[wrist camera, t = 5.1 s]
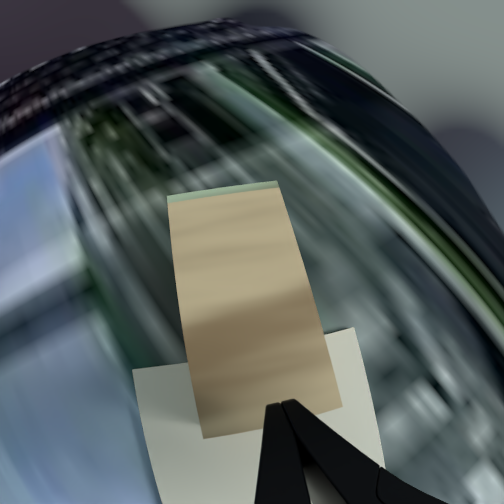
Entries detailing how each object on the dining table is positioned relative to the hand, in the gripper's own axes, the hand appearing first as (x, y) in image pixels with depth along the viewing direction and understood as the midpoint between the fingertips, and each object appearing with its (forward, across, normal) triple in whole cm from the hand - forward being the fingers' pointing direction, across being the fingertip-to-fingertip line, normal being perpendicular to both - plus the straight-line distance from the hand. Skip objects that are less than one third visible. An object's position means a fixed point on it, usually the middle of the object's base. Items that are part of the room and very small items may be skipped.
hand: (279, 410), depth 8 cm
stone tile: (+3, 0, +8) cm, 8 cm away
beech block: (+2, 0, +4) cm, 5 cm away
